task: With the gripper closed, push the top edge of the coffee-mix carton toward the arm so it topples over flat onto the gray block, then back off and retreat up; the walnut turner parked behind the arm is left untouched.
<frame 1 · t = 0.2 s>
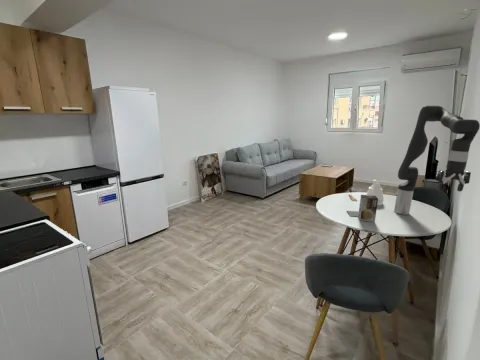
hand: (450, 190, 135), 29 cm above the table, fingers open, 8 cm apart
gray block: (360, 214, 179), on the table
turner: (352, 198, 215), on the table
coffee box: (366, 220, 171), on the table
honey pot: (373, 202, 206), on the table
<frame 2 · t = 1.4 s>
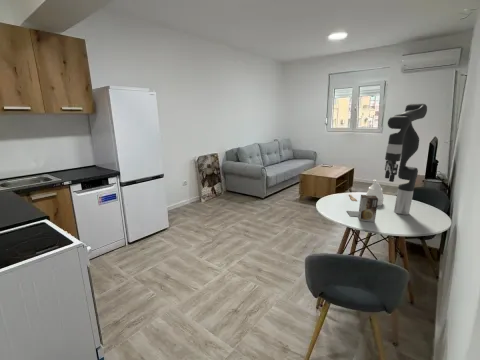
hand: (389, 179, 151), 30 cm above the table, fingers open, 8 cm apart
nothing on the table moved.
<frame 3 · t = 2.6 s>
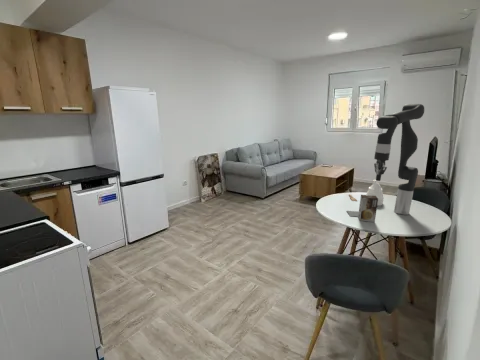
hand: (377, 180, 155), 29 cm above the table, fingers closed
nothing on the table moved.
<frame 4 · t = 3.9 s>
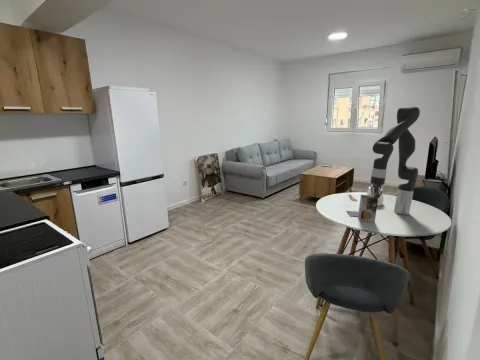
hand: (373, 203, 159), 14 cm above the table, fingers closed
nothing on the table moved.
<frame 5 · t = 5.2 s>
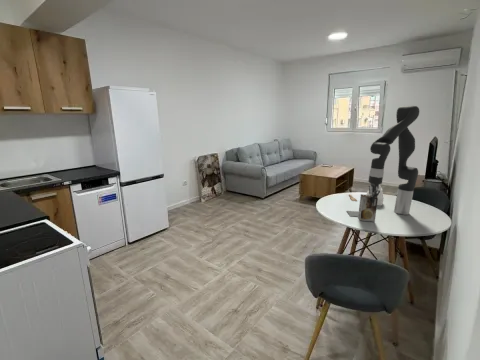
hand: (372, 202, 163), 14 cm above the table, fingers closed
coffee box: (366, 219, 171), on the table, touching gripper
everything else where it was.
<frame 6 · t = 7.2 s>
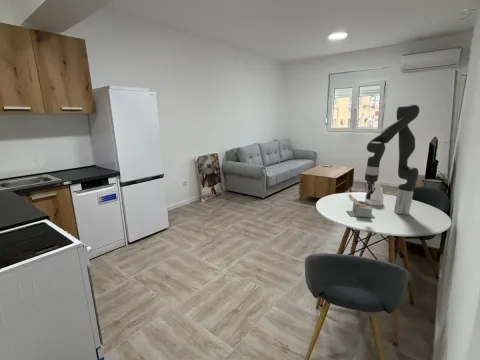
hand: (368, 199, 169), 14 cm above the table, fingers closed
coffee box: (364, 212, 173), point 4 cm above the table, touching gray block
everything else where it was.
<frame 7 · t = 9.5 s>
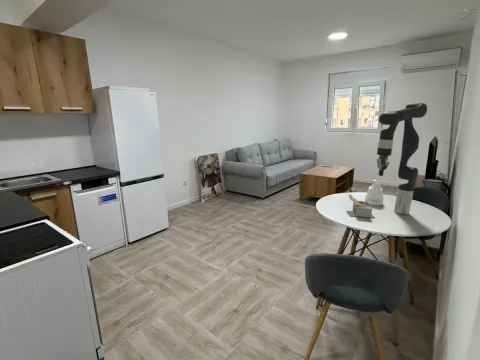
hand: (380, 175, 158), 31 cm above the table, fingers closed
nothing on the table moved.
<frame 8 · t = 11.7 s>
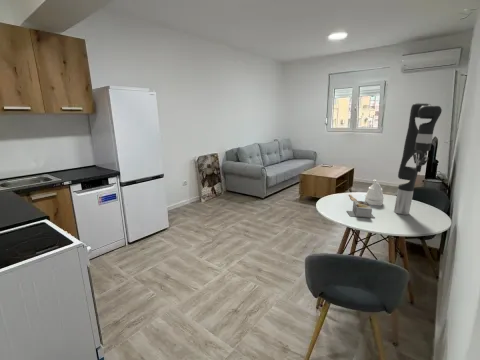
hand: (417, 171, 153), 35 cm above the table, fingers closed
nothing on the table moved.
at the end: coffee box tilted 90°; coffee box inside the target area (5.7 cm from its centre), point 3.6 cm above the table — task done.
